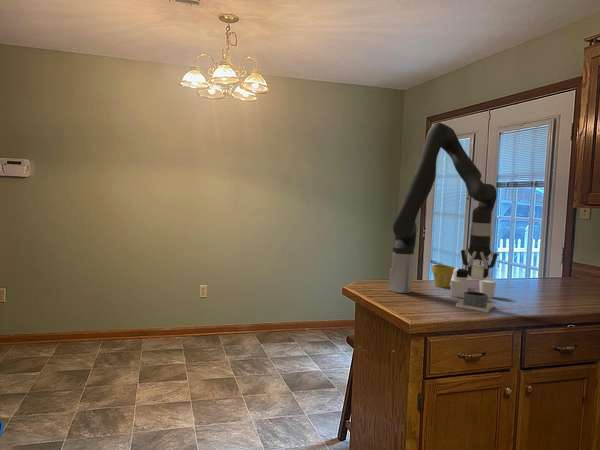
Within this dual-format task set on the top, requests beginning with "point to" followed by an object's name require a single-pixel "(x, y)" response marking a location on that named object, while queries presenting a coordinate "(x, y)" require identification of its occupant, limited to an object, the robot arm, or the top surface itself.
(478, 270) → the cap
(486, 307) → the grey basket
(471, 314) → the top surface
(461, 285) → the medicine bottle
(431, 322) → the top surface
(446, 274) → the plant pot
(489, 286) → the white cylinder
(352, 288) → the top surface
